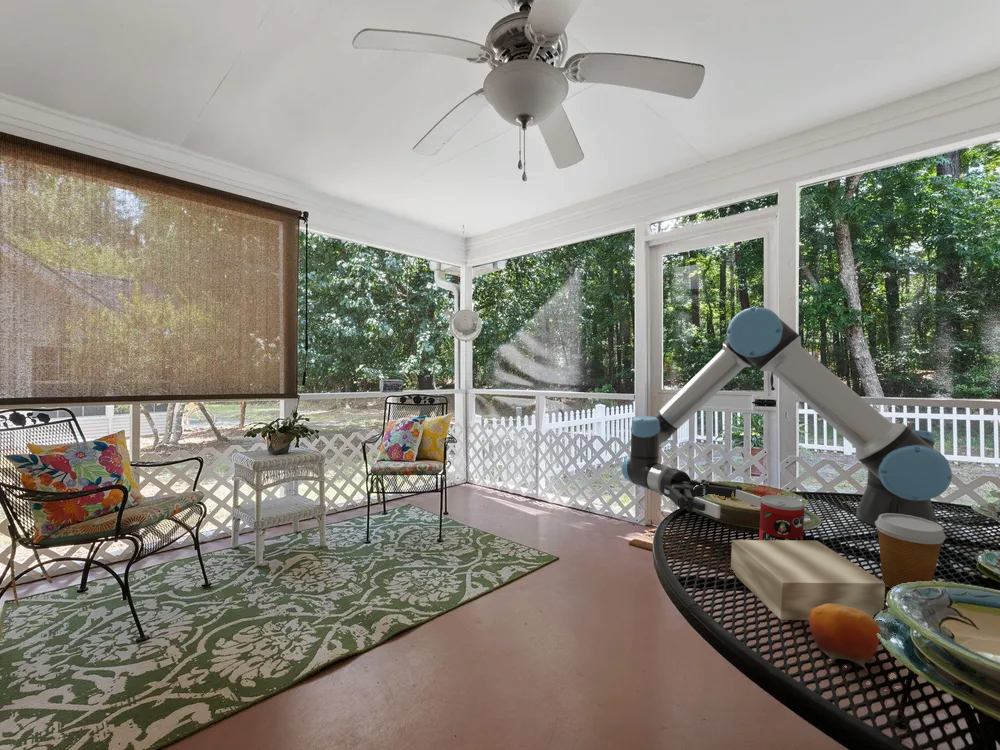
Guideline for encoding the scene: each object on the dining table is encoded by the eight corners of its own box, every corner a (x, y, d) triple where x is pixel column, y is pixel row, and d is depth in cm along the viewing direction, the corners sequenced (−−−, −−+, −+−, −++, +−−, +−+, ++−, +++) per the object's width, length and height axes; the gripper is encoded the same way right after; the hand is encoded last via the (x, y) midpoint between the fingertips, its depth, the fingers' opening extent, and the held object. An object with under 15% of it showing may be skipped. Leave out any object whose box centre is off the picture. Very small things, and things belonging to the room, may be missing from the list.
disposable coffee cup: (922, 607, 78) (927, 536, 78) (859, 581, 87) (863, 516, 86) (953, 596, 82) (959, 527, 81) (890, 571, 91) (894, 509, 90)
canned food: (758, 556, 97) (761, 503, 96) (758, 542, 104) (760, 492, 103) (803, 565, 93) (806, 509, 92) (799, 549, 100) (802, 498, 100)
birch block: (815, 571, 91) (816, 540, 90) (882, 620, 75) (885, 583, 74) (730, 570, 90) (732, 539, 90) (780, 619, 75) (782, 582, 74)
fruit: (820, 662, 62) (815, 596, 66) (806, 660, 69) (802, 600, 72) (896, 678, 60) (887, 608, 63) (874, 675, 66) (867, 611, 70)
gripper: (703, 490, 131) (776, 516, 112) (631, 502, 121) (699, 533, 101) (704, 463, 131) (778, 484, 112) (632, 473, 120) (700, 498, 101)
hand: (740, 507), depth 106 cm, fingers open, 13 cm apart
